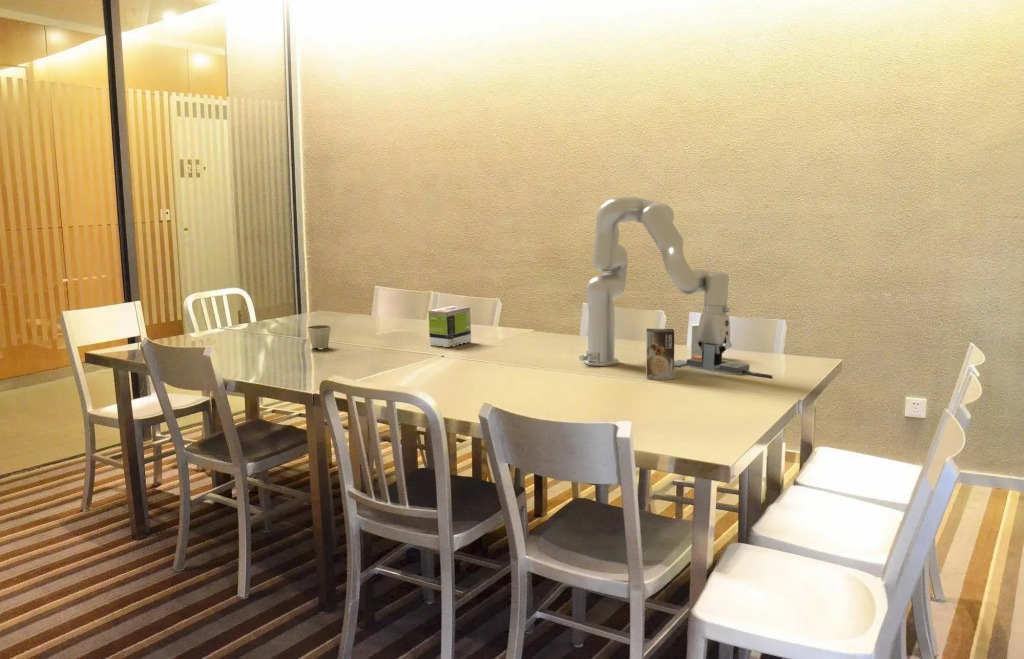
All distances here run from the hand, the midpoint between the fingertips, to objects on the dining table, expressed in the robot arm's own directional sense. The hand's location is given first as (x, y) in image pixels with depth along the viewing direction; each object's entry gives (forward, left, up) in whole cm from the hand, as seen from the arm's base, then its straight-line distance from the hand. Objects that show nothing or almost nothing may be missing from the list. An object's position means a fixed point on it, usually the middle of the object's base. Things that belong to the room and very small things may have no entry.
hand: (711, 363), depth 283 cm
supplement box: (+22, +19, -4) cm, 30 cm away
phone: (+7, +18, -5) cm, 20 cm away
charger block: (0, 0, -2) cm, 2 cm away
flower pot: (-68, +136, -4) cm, 152 cm away
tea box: (-26, +106, -4) cm, 109 cm away
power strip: (+10, -1, -4) cm, 11 cm away
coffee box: (-15, +10, -4) cm, 18 cm away
